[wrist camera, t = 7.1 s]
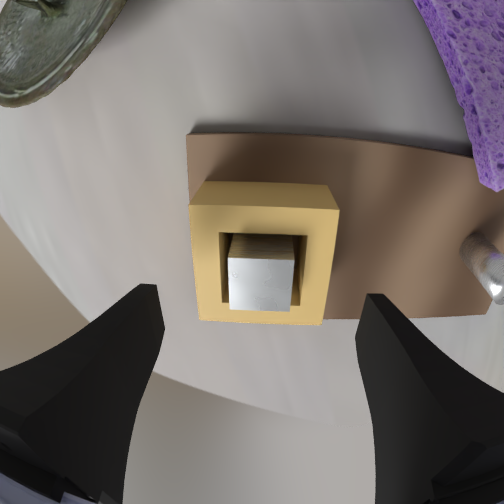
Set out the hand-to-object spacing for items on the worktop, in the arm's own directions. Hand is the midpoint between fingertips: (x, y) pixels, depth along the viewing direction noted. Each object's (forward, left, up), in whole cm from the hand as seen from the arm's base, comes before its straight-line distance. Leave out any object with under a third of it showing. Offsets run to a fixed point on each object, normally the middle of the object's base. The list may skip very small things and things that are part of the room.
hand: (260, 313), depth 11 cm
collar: (0, 0, -6) cm, 6 cm away
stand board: (-6, 0, -6) cm, 9 cm away
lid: (+10, -13, -7) cm, 17 cm away
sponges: (-11, -11, -6) cm, 17 cm away
